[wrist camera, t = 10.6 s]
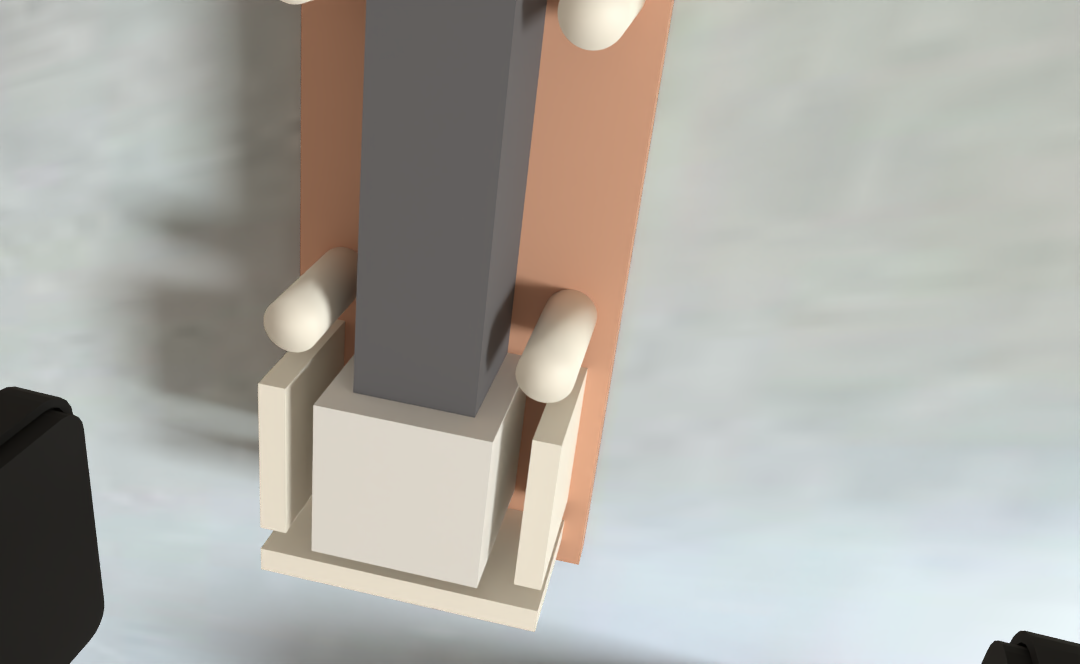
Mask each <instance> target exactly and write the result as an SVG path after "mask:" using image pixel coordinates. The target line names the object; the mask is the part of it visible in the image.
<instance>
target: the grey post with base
mask: <svg viewBox="0 0 1080 664" xmlns="http://www.w3.org/2000/svg"><path fill="white" fill-rule="evenodd" d="M546 6H547V0H366V24H365V53H364V83H363V113H362V143H361V173H360V203H359V232H358V262H357V292H356V322H355V352H354V355H353V356H352V358H351V359H350V360H349V361H348V363H347V364H346V365H345V366H344V368H343V369H342V370H341V371H340V372H339V374H338V375H337V376H336V377H335V379H334V380H333V381H332V382H331V384H330V385H329V386H328V387H327V389H326V390H325V391H324V392H323V394H322V395H321V396H320V397H319V399H318V400H317V401H316V402H315V404H314V405H313V475H312V551H315V552H320V553H324V554H328V555H333V556H337V557H342V558H346V559H350V560H355V561H359V562H364V563H368V564H372V565H377V566H381V567H386V568H390V569H394V570H399V571H403V572H408V573H412V574H416V575H421V576H425V577H430V578H434V579H438V580H443V581H447V582H452V583H456V584H460V585H465V586H469V587H474V588H477V586H478V584H479V581H480V579H481V576H482V573H483V571H484V568H485V566H486V563H487V560H488V558H489V555H490V553H491V550H492V547H493V545H494V542H495V540H496V537H497V534H498V532H499V529H500V527H501V524H502V521H503V519H504V516H505V514H506V511H507V508H508V506H509V503H510V501H511V498H512V495H513V493H514V490H515V483H516V475H517V467H518V459H519V451H520V443H521V435H522V427H523V419H524V411H525V403H526V394H525V393H524V392H523V391H522V390H521V388H520V387H519V385H518V383H517V380H516V367H517V364H518V362H519V360H520V358H521V356H522V355H517V354H512V353H508V344H509V336H510V327H511V318H512V309H513V300H514V291H515V282H516V273H517V264H518V255H519V247H520V238H521V229H522V220H523V211H524V202H525V193H526V184H527V175H528V166H529V157H530V149H531V140H532V131H533V122H534V113H535V104H536V95H537V86H538V77H539V68H540V60H541V51H542V42H543V33H544V24H545V15H546Z"/></svg>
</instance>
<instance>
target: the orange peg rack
mask: <svg viewBox="0 0 1080 664" xmlns="http://www.w3.org/2000/svg"><path fill="white" fill-rule="evenodd" d="M280 1H282V2H285V3H288V4H301V204H300V277H299V278H298V279H297V280H296V281H295V282H294V283H293V284H292V285H291V286H290V287H289V288H288V289H287V290H285V291H284V292H283V293H282V294H281V295H280V296H279V297H278V298H277V299H276V300H275V301H274V302H273V303H272V304H270V305H269V306H268V308H267V309H266V311H265V314H264V319H263V322H264V328H265V331H266V333H267V335H268V336H269V338H270V339H271V340H272V341H273V342H274V343H275V344H276V345H277V346H278V347H280V348H282V349H284V350H286V351H288V352H287V353H286V354H285V355H284V356H283V357H282V358H281V359H280V360H279V361H278V363H277V364H276V365H275V366H274V367H273V368H272V369H271V370H270V371H269V372H268V373H267V374H266V375H265V376H264V377H263V379H262V380H261V381H260V382H259V383H258V413H259V469H260V525H261V528H265V529H270V530H274V531H273V532H272V534H271V535H270V536H269V538H268V539H267V541H266V542H265V543H264V545H263V546H262V548H261V569H263V570H268V571H272V572H276V573H281V574H285V575H289V576H294V577H298V578H302V579H307V580H311V581H316V582H320V583H324V584H329V585H333V586H337V587H342V588H346V589H350V590H355V591H359V592H363V593H368V594H372V595H376V596H381V597H385V598H389V599H394V600H398V601H402V602H407V603H411V604H415V605H420V606H424V607H429V608H433V609H437V610H442V611H446V612H450V613H455V614H459V615H463V616H468V617H472V618H476V619H481V620H485V621H489V622H494V623H498V624H502V625H507V626H511V627H515V628H520V629H524V630H528V631H533V632H535V629H536V626H537V622H538V619H539V615H540V612H541V609H542V605H543V602H544V598H545V595H546V591H547V588H548V584H549V581H550V577H551V574H552V570H553V567H554V564H555V560H560V561H564V562H569V563H573V564H578V565H579V561H580V557H581V553H582V549H583V545H584V539H585V533H586V527H587V520H588V514H589V508H590V502H591V496H592V490H593V484H594V478H595V472H596V466H597V460H598V454H599V448H600V442H601V436H602V430H603V424H604V418H605V412H606V406H607V400H608V394H609V388H610V382H611V376H612V370H613V364H614V358H615V352H616V346H617V340H618V334H619V328H620V322H621V316H622V310H623V304H624V298H625V292H626V286H627V280H628V274H629V268H630V262H631V256H632V250H633V244H634V238H635V232H636V226H637V220H638V214H639V208H640V202H641V196H642V190H643V184H644V178H645V172H646V166H647V160H648V154H649V148H650V142H651V136H652V130H653V124H654V118H655V112H656V106H657V100H658V94H659V88H660V82H661V76H662V70H663V64H664V58H665V51H666V45H667V39H668V33H669V27H670V21H671V15H672V9H673V3H674V0H547V6H546V15H545V24H544V33H543V42H542V51H541V60H540V68H539V77H538V86H537V95H536V104H535V113H534V122H533V131H532V140H531V149H530V157H529V166H528V175H527V184H526V193H525V202H524V211H523V220H522V229H521V238H520V247H519V255H518V264H517V273H516V282H515V291H514V300H513V309H512V318H511V327H510V336H509V344H508V353H512V354H517V355H522V356H521V358H520V360H519V362H518V364H517V367H516V380H517V383H518V385H519V387H520V388H521V390H522V391H523V392H524V393H525V394H526V403H525V411H524V419H523V427H522V435H521V443H520V451H519V459H518V467H517V475H516V483H515V490H514V493H513V495H512V498H511V501H510V503H509V506H508V508H507V511H506V514H505V516H504V519H503V521H502V524H501V527H500V529H499V532H498V534H497V537H496V540H495V542H494V545H493V547H492V550H491V553H490V555H489V558H488V560H487V563H486V566H485V568H484V571H483V573H482V576H481V579H480V581H479V584H478V586H477V588H474V587H469V586H465V585H460V584H456V583H452V582H447V581H443V580H438V579H434V578H430V577H425V576H421V575H416V574H412V573H408V572H403V571H399V570H394V569H390V568H386V567H381V566H377V565H372V564H368V563H364V562H359V561H355V560H350V559H346V558H342V557H337V556H333V555H328V554H324V553H320V552H315V551H312V475H313V405H314V404H315V402H316V401H317V400H318V399H319V397H320V396H321V395H322V394H323V392H324V391H325V390H326V389H327V387H328V386H329V385H330V384H331V382H332V381H333V380H334V379H335V377H336V376H337V375H338V374H339V372H340V371H341V370H342V369H343V368H344V366H345V365H346V364H347V363H348V361H349V360H350V359H351V358H352V356H353V355H354V352H355V322H356V292H357V262H358V232H359V203H360V173H361V143H362V113H363V83H364V53H365V24H366V0H280Z"/></svg>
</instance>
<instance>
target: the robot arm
mask: <svg viewBox="0 0 1080 664" xmlns="http://www.w3.org/2000/svg"><path fill="white" fill-rule="evenodd" d="M103 612H104V596H103V588H102V579H101V571H100V562H99V554H98V545H97V537H96V528H95V520H94V511H93V503H92V494H91V486H90V477H89V469H88V460H87V452H86V443H85V435H84V428H83V424H82V421H81V420H80V418H79V417H77V416H75V415H73V412H72V408H71V406H70V405H69V403H68V402H67V401H66V400H64V399H62V398H60V397H56V396H52V395H48V394H43V393H39V392H35V391H31V390H27V389H23V388H19V387H6V388H4V389H2V390H0V664H70V663H71V661H72V660H73V659H74V658H75V657H76V656H77V655H78V653H79V652H80V651H81V650H82V649H83V648H84V647H85V645H86V644H87V643H88V642H89V641H90V640H91V638H92V637H93V635H94V634H95V633H96V631H97V629H98V627H99V625H100V622H101V619H102V617H103ZM982 664H1080V644H1078V643H1074V642H1069V641H1065V640H1061V639H1057V638H1053V637H1049V636H1045V635H1040V634H1036V633H1032V632H1028V631H1019V632H1018V633H1017V634H1016V635H1015V636H1014V637H1013V639H1012V640H1011V642H1010V643H1006V642H1002V641H994V642H993V643H992V644H991V645H990V647H989V649H988V650H987V653H986V655H985V657H984V659H983V661H982Z"/></svg>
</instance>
